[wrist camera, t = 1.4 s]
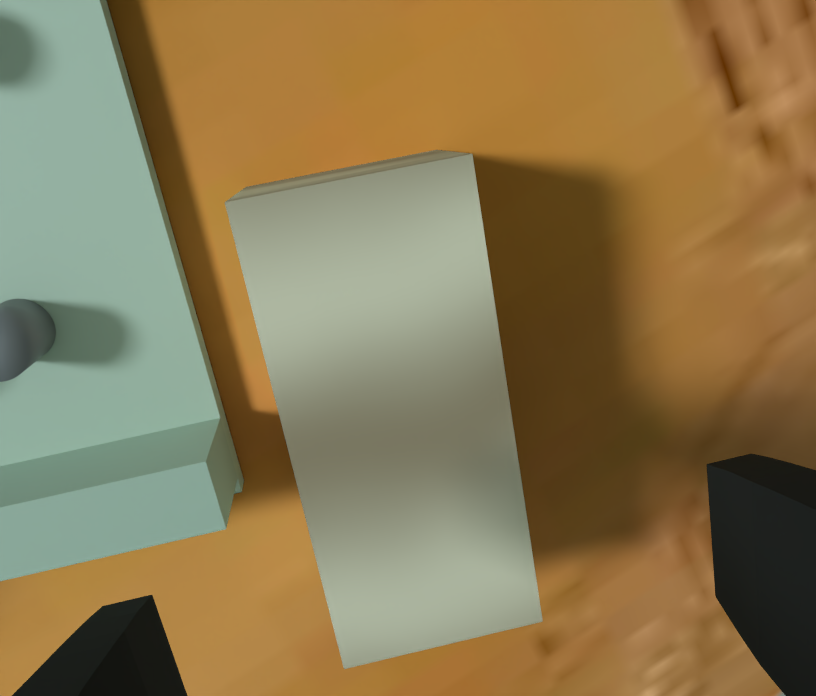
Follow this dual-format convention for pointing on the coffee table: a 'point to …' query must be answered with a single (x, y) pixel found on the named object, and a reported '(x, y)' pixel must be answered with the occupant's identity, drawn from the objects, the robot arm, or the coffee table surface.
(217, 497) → the peg frame
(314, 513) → the shelf block
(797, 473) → the robot arm
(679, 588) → the coffee table surface
